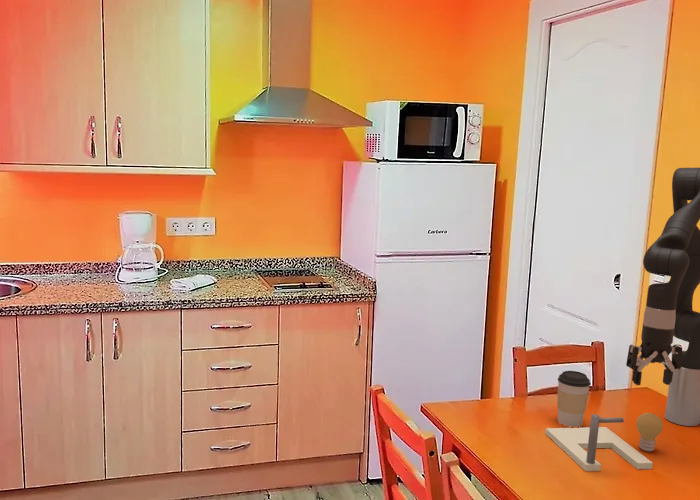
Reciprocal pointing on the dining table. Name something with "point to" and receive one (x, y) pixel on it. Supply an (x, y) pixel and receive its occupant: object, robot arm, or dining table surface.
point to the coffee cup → (572, 397)
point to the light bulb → (648, 430)
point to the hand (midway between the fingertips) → (651, 384)
